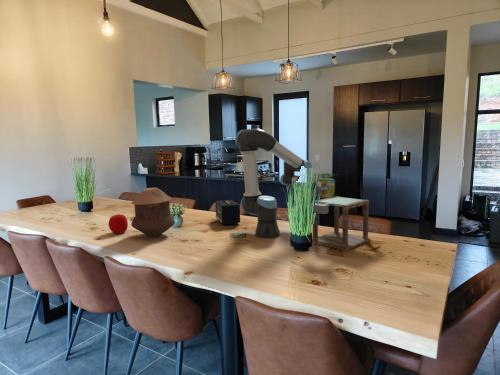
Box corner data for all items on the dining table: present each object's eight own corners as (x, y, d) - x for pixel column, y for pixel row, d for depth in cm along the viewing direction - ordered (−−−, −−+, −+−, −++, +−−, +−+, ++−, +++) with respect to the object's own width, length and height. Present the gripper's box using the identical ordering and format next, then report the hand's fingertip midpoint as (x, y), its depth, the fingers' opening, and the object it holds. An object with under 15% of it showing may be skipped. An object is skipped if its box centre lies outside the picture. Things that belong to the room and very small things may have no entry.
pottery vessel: (180, 230, 224) (178, 185, 220) (167, 241, 199) (164, 190, 195) (142, 230, 227) (139, 185, 223) (125, 241, 202) (121, 191, 198)
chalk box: (319, 198, 209) (320, 174, 207) (316, 196, 218) (317, 172, 216) (334, 198, 209) (335, 174, 207) (331, 196, 218) (331, 172, 216)
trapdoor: (325, 214, 166) (325, 206, 166) (299, 210, 178) (299, 202, 177) (363, 204, 190) (363, 197, 190) (338, 201, 202) (338, 194, 201)
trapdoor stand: (346, 251, 175) (346, 206, 172) (310, 242, 192) (310, 201, 189) (370, 241, 192) (371, 200, 189) (335, 233, 209) (335, 195, 206)
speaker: (215, 219, 253) (215, 199, 251) (232, 218, 257) (232, 198, 255) (222, 226, 232) (221, 204, 230) (240, 224, 236) (239, 203, 234)
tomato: (124, 235, 215) (123, 215, 213) (106, 235, 215) (104, 216, 213) (131, 230, 227) (130, 211, 225) (114, 230, 227) (112, 212, 226)
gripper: (311, 185, 236) (337, 187, 221) (287, 188, 220) (314, 191, 204) (311, 174, 235) (338, 176, 220) (288, 176, 219) (315, 178, 203)
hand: (327, 183), depth 212 cm, fingers closed on chalk box, 12 cm apart
